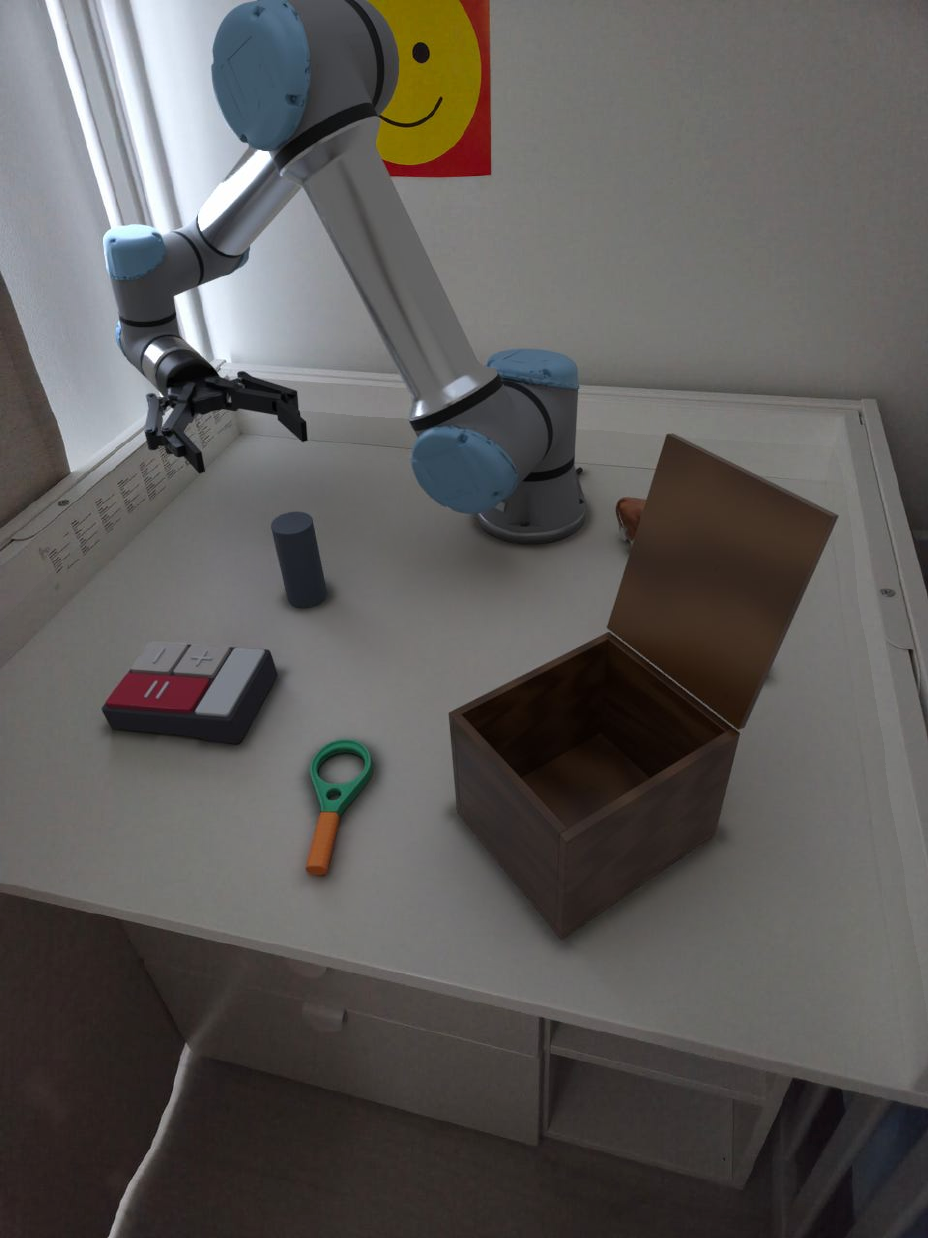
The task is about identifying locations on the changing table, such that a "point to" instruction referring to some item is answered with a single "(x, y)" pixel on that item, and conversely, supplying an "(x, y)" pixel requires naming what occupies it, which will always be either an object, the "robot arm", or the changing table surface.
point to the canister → (299, 559)
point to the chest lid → (716, 575)
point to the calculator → (192, 691)
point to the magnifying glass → (333, 801)
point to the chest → (589, 777)
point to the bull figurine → (629, 516)
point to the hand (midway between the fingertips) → (254, 447)
